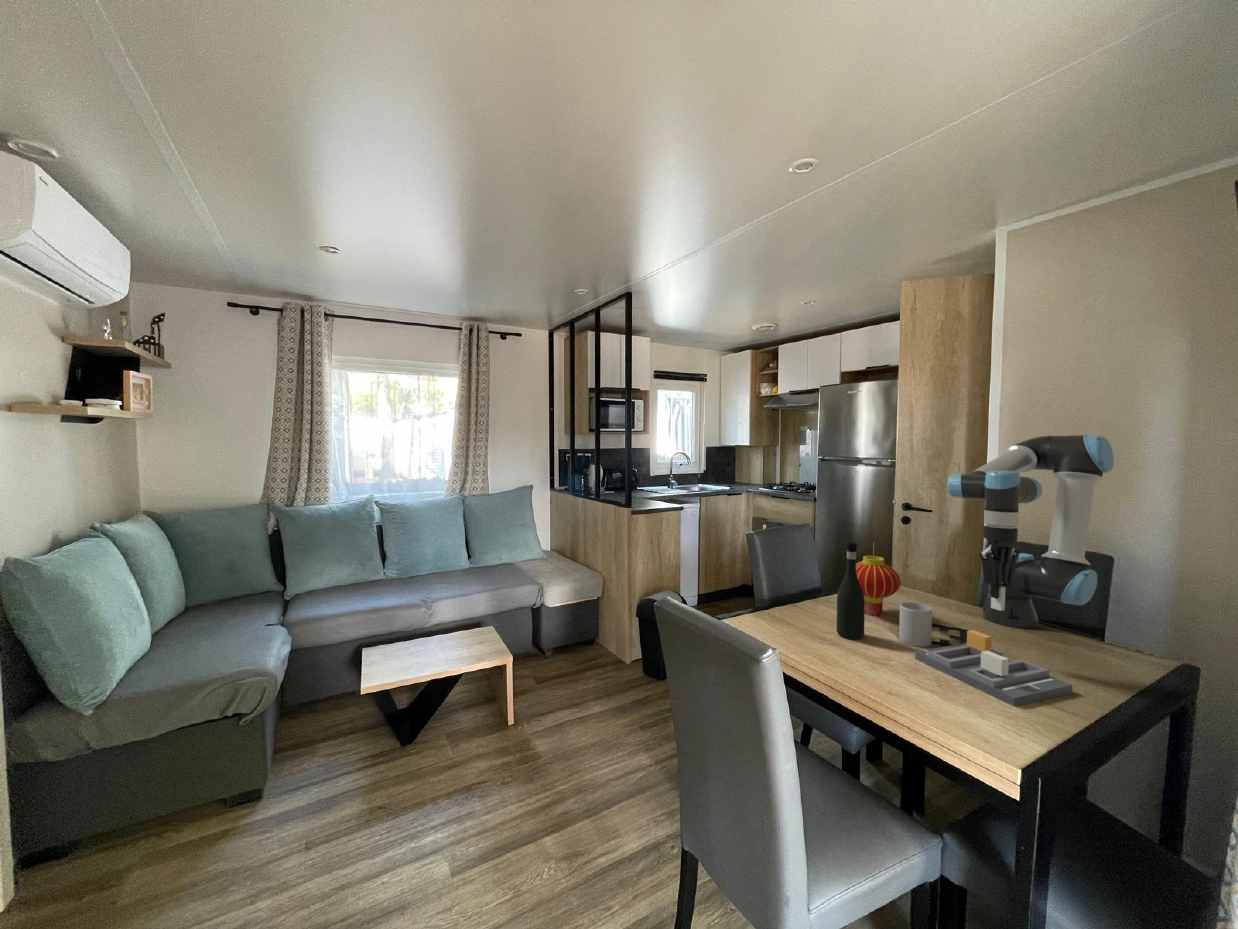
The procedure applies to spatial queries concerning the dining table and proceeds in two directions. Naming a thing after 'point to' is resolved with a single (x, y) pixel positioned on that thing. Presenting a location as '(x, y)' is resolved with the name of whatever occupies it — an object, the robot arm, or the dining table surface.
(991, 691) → the grey flat slotted tray
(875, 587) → the lantern
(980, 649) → the block
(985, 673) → the fader
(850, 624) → the wine bottle
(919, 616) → the mug
